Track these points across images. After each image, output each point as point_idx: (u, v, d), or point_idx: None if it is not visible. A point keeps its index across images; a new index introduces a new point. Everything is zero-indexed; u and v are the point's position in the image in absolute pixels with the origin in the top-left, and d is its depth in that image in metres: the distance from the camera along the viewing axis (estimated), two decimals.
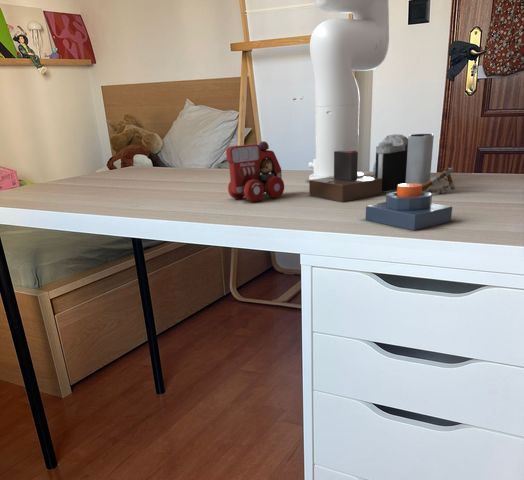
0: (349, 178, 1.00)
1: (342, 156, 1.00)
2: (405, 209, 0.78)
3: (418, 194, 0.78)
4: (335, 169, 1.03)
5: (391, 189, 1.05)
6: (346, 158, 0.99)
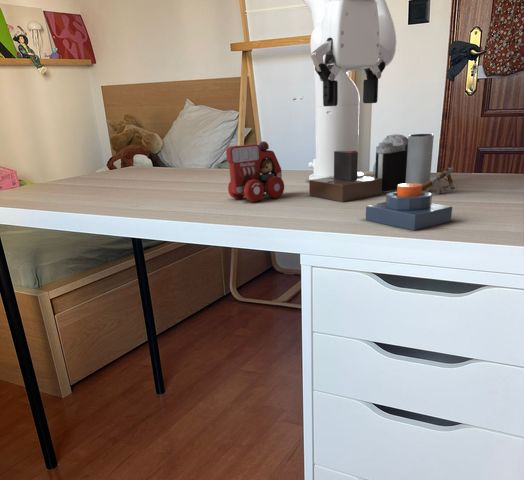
0: (349, 178, 1.00)
1: (342, 156, 1.00)
2: (405, 209, 0.78)
3: (418, 194, 0.78)
4: (335, 169, 1.03)
5: (391, 189, 1.05)
6: (346, 158, 0.99)
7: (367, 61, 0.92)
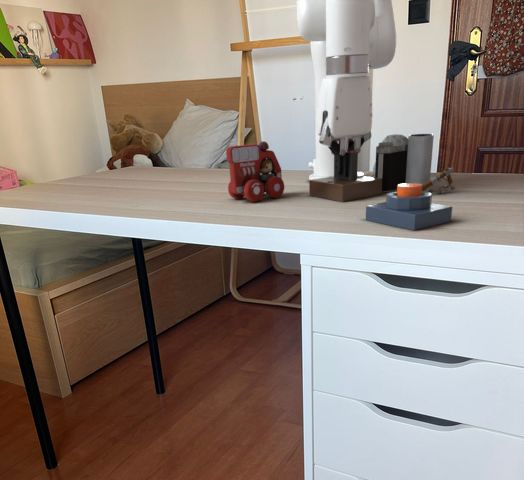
0: (349, 178, 1.00)
1: None
2: (405, 209, 0.78)
3: (418, 194, 0.78)
4: None
5: (391, 189, 1.05)
6: None
7: (361, 130, 0.98)
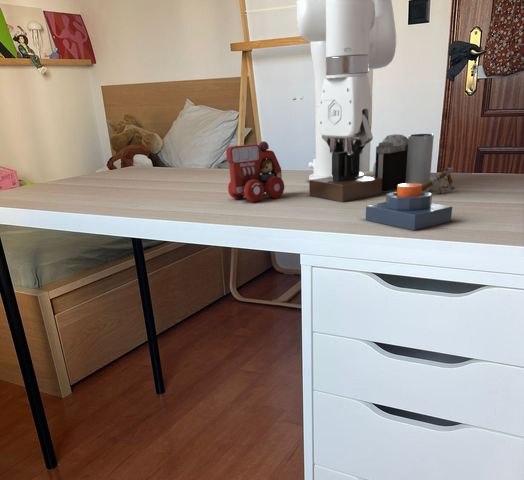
0: None
1: None
2: (405, 209, 0.78)
3: (418, 194, 0.78)
4: (340, 171, 1.00)
5: (391, 189, 1.05)
6: None
7: None
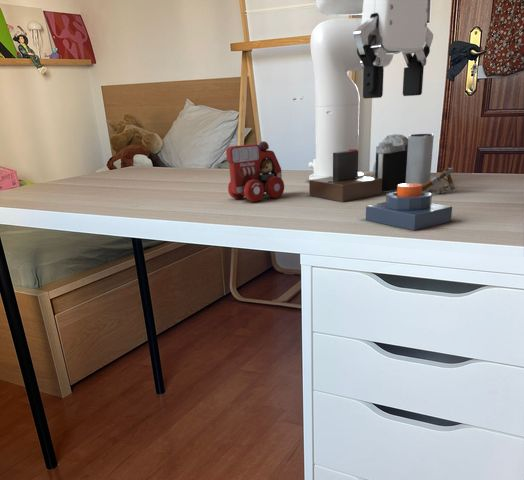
0: (355, 176, 1.03)
1: (348, 156, 1.00)
2: (405, 209, 0.78)
3: (418, 194, 0.78)
4: (340, 171, 1.00)
5: (391, 188, 1.05)
6: (353, 156, 1.01)
7: (415, 44, 0.76)
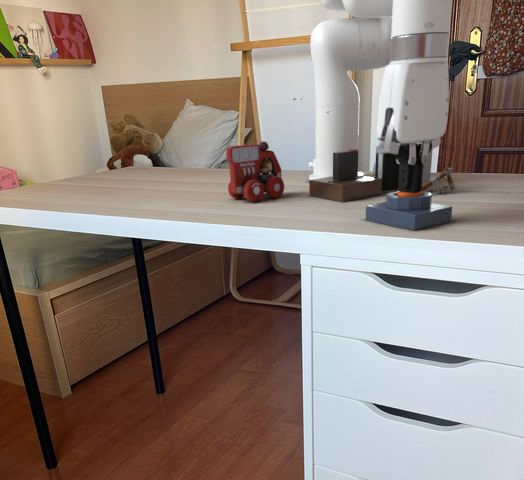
0: (355, 176, 1.03)
1: (348, 156, 1.00)
2: (405, 209, 0.78)
3: None
4: (340, 171, 1.00)
5: (391, 189, 1.05)
6: (353, 156, 1.01)
7: (433, 133, 0.75)
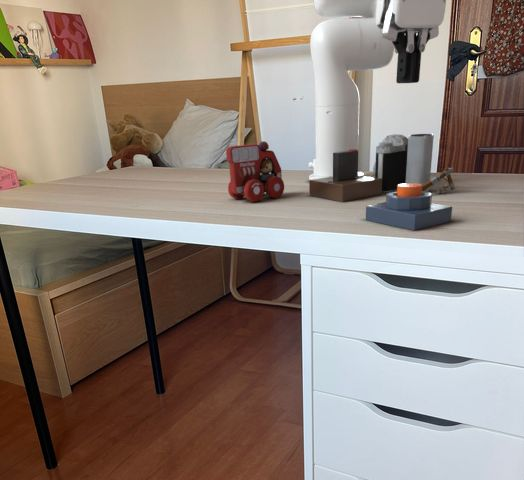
0: (355, 176, 1.03)
1: (348, 156, 1.00)
2: (405, 209, 0.78)
3: (418, 194, 0.78)
4: (340, 171, 1.00)
5: (391, 188, 1.05)
6: (353, 156, 1.01)
7: (431, 20, 0.77)
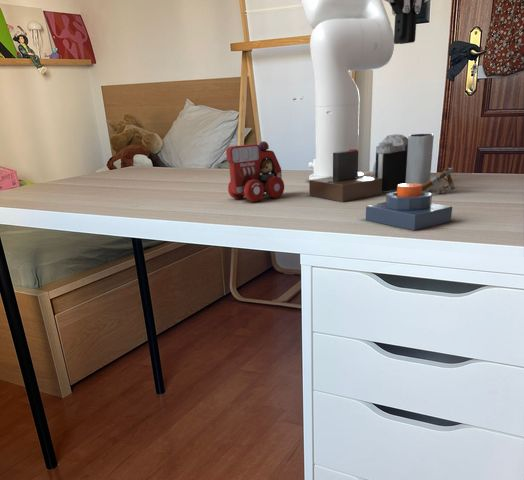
0: (355, 176, 1.03)
1: (348, 156, 1.00)
2: (405, 209, 0.78)
3: (418, 194, 0.78)
4: (340, 171, 1.00)
5: (391, 188, 1.05)
6: (353, 156, 1.01)
7: None
